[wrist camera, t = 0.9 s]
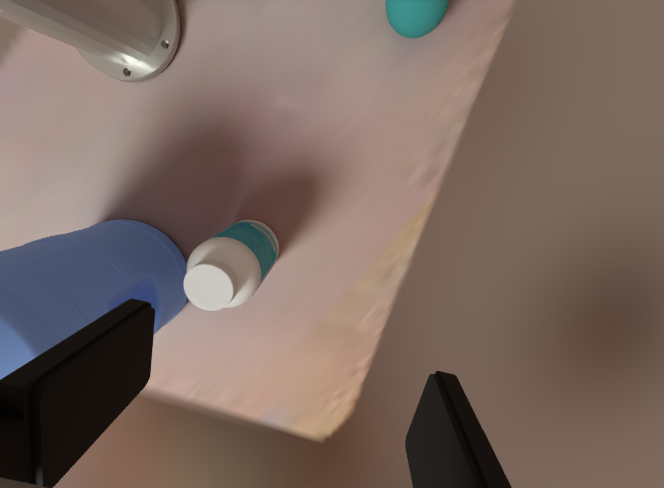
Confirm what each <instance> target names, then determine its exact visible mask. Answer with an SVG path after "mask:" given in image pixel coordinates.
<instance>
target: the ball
mask: <svg viewBox="0 0 664 488" xmlns="http://www.w3.org/2000/svg"><path fill="white" fill-rule="evenodd" d="M448 4H449V0H386V13H387V17H388V20H389V23H390V24H391V26H392V28H393V29H394V30H395V31H396V32H397V33H398V34H400V35H402V36H404V37H407V38H418V37H422V36H424V35H426V34H428V33H430V32H431V31H432V30H433V29H435V28H436V27H437V25H438V24H439V23H440V22H441V20H442V19H443V17H444V15H445V13H446V11H447V8H448Z"/></svg>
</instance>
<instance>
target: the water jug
mask: <svg viewBox="0 0 664 488" xmlns="http://www.w3.org/2000/svg"><path fill="white" fill-rule="evenodd" d="M186 274H187V264H186V261H185V259H184V257H183V255H182V253H181V252H180V250H179V249H178V247H177V246H176V245H175V244H174V243H173V242H172V241H171V240H170V239H169V238H168V237H167V236H166V235H165V234H163V233H162V232H161V231H159V230H157V229H156V228H154V227H152V226H150V225H148V224H145V223H142V222H139V221H134V220H126V219H118V220H111V221H106V222H103V223H99V224H96V225H93V226H91V227H89V228H85V229H82V230H78V231H74V232H71V233H67V234H61V235H55V236H50V237H46V238H43V239H39V240H35V241H33V242H30V243H27V244H25V245H23V246H19V247H15V248H12V249H8V250H4V251H1V252H0V379H2V378H4V377H5V376H7V375H8V374H10V373H12V372H13V371H15V370H16V369H18V368H20V367H21V366H23V365H24V364H26V363H28V362H29V361H31V360H32V359H34V358H36V357H37V356H39V355H40V354H42V353H44V352H45V351H47V350H48V349H50V348H52V347H53V346H55V345H56V344H58V343H60V342H61V341H63V340H64V339H66V338H68V337H69V336H71V335H72V334H74V333H76V332H77V331H79V330H80V329H82V328H84V327H85V326H87V325H88V324H90V323H92V322H93V321H95V320H96V319H98V318H100V317H101V316H103V315H104V314H106V313H108V312H109V311H111V310H112V309H114V308H116V307H117V306H119V305H120V304H122V303H124V302H125V301H127V300H129V299H131V298H133V299H137V300H142V301H146V302H149V303H151V307H152V308H154V309H155V322H154V334H155V333H156V332H157V331H158V330H159V329H160V328H161V327H163V326H164V325H166V324H167V323H168V322H170V321H171V320H172V319H173V318H174V317H175V316H176V315H177V314H178V313H179V312H180V311H181V309H182V308H183V306H184V305H185V303H186V301H187V298H188V297H187V295H186V293H185V290H184V278H185V275H186ZM154 334H153V335H154Z"/></svg>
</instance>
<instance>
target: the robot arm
mask: <svg viewBox="0 0 664 488" xmlns="http://www.w3.org/2000/svg"><path fill="white" fill-rule="evenodd" d="M0 17H2V18H4V19H7V20H9V21H12V22H14V23H17V24H19V25H22V26H24V27H27V28H29V29H31V30H34V31H36V32H39V33H41V34H44V35H46V36H49V37H51V38H54V39H56V40H59V41H61V42H64V43H66V44H69V45H71V46H74V47H76V49H77V50H78V51H79V53H80V54H81V55H82V57H83V58H84V59H85V60H86V61H87V62H88V63H89V64H90V65H92V66H93V67H94V68H96V69H97V70H98V71H100V72H102V73H104V74H106V75H108V76H110V77H113V78H116V79H119V80H123V81H129V82H138V81H144V80H147V79H151V78H152V77H154V76H156V75H158V74H159V73H160V72H162V71H163V70H164V69H165V68H166V67H167V66H168V64H169V63H170V61H171V60H172V59H173V56H174V54H175V52H176V50H177V46H178V42H179V38H180V16H179V10H178V6H177V2H176V0H0ZM168 45H169V47H168ZM154 322H155V309H154V308H152V307H151V303H149V302H146V301H142V300H137V299H133V298H131V299H129V300H127V301H125V302H124V303H122V304H120V305H119V306H117V307H116V308H114V309H112V310H111V311H109V312H108V313H106V314H104V315H103V316H101V317H100V318H98V319H96V320H95V321H93V322H92V323H90V324H88V325H87V326H85V327H84V328H82V329H80V330H79V331H77V332H76V333H74V334H72V335H71V336H69V337H68V338H66V339H64V340H63V341H61V342H60V343H58V344H56V345H55V346H53V347H52V348H50V349H48V350H47V351H45V352H44V353H42V354H40V355H39V356H37V357H36V358H34V359H32V360H31V361H29V362H28V363H26V364H24V365H23V366H21V367H20V368H18V369H16V370H15V371H13V372H12V373H10V374H8V375H7V376H5V377H4V378H2V379H0V488H53V487H54V486H55V485H56V484H57V483H58V482H59V480H60V479H61V478H62V477H63V476H64V475H65V474H66V473H67V472H68V471H69V469H70V468H71V467H72V466H73V465H74V464H75V463H76V462H77V461H78V460H79V459H80V457H81V456H82V455H83V454H84V453H85V452H86V451H87V450H88V449H89V447H90V446H91V445H92V444H93V443H94V442H95V441H96V440H97V439H98V438H99V437H100V435H101V434H102V433H103V432H104V431H105V430H106V429H107V428H108V427H109V425H110V424H111V423H112V422H113V421H114V420H115V419H116V418H117V417H118V416H119V414H120V413H121V412H122V411H123V410H124V409H125V408H126V407H127V406H128V405H129V404H130V402H131V401H132V400H133V399H134V398H135V397H136V396H137V395H138V394H139V393H140V391H141V390H142V389H143V388H144V387H145V386H146V384H147V383H148V380H149V378H150V371H151V359H152V347H153V334H154ZM405 446H406V453H407V458H408V463H409V469H410V473H411V479H412V484H413V488H511V486H510V484H509V482H508V480H507V478H506V475H505V474H504V472H503V469H502V467H501V465H500V463H499V461H498V459H497V457H496V455H495V453H494V451H493V449H492V447H491V445H490V443H489V441H488V439H487V437H486V435H485V433H484V431H483V429H482V427H481V425H480V423H479V421H478V419H477V417H476V415H475V413H474V411H473V409H472V407H471V405H470V403H469V401H468V399H467V397H466V395H465V393H464V391H463V389H462V387H461V385H460V383H459V380H458V379H457V377H456V376H455V375H453V374H449V373H445V372H441V371H437V372H436V373H435V374H431V375H430V376H429V378H428V380H427V383H426V385H425V388H424V391H423V393H422V396H421V399H420V401H419V404H418V407H417V409H416V412H415V415H414V417H413V420H412V423H411V426H410V428H409V431H408V433H407V436H406V444H405Z"/></svg>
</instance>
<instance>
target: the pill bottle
mask: <svg viewBox="0 0 664 488" xmlns="http://www.w3.org/2000/svg"><path fill="white" fill-rule="evenodd" d="M278 254H279V244H278V240H277V237H276V235H275V234H274V232H273V231H272V230H271V229H270V228H269V227H268V226H267V225H265V224H264V223H262V222H259V221H256V220H242V221H239V222H236V223H235V224H233V225H231V226H229V227H228V228H226V229H224V230H223V231H221V232H220V233H218V234H216V235H215V236H213V237H211V238H210V239H208V240H206V241H205V242H203V243H202V244H200V245H199V246H198V247H196V248H195V249H194V251H193V252H192V253H191V255H190V257H189V260H188V263H187V274H186V275H185V278H184V290H185V293H186V295H187V297H188V299H189V300H190V301H191V302H192V303H193V304H194V305H196V306H197V307H199V308H201V309H204V310H209V311H215V310H220V309H222V308H229V307H235V306H238V305H241V304H243V303H245V302H246V301H248V300H249V299H250V298H251V297H252V296H253V295H254V293H255V292H256V290H257V289H258V288H259V286H260V284H261V283H262V282H263V280H264V279H265V277H266V276H267V274H268V273H269V271H270V270H271V268H272V267H273V265H274V264H275V262H276V260H277V258H278Z"/></svg>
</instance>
